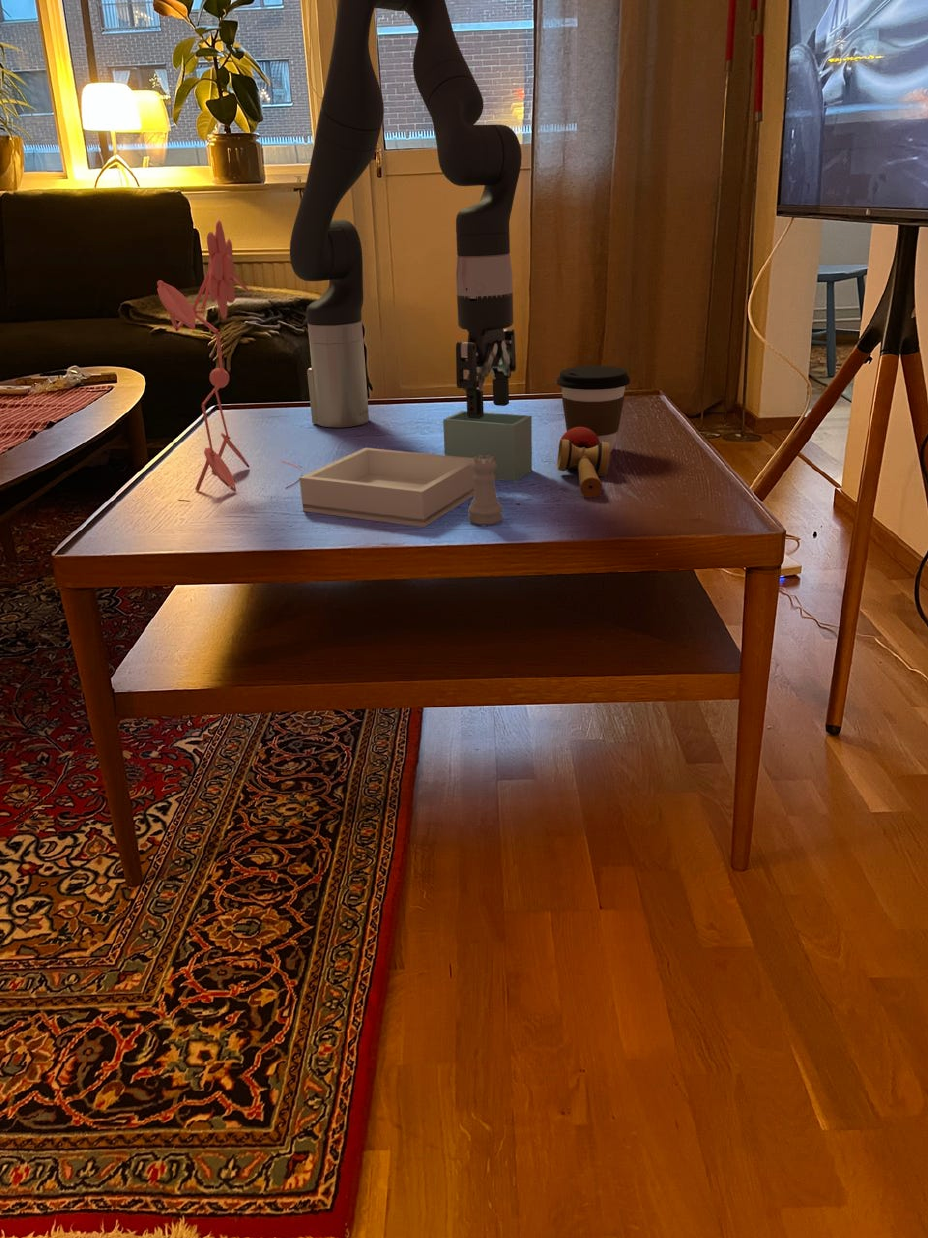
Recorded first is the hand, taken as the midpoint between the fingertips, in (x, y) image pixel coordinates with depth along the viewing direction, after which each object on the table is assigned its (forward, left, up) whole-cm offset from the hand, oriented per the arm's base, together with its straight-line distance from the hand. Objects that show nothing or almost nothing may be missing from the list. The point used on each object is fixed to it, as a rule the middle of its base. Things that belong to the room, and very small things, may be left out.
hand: (488, 411), depth 138 cm
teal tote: (0, 0, -9) cm, 9 cm away
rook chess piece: (+9, -20, -9) cm, 24 cm away
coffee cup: (+10, +16, -9) cm, 21 cm away
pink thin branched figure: (-31, -16, -9) cm, 36 cm away
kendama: (+14, +2, -9) cm, 17 cm away
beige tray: (-6, -17, -9) cm, 20 cm away
